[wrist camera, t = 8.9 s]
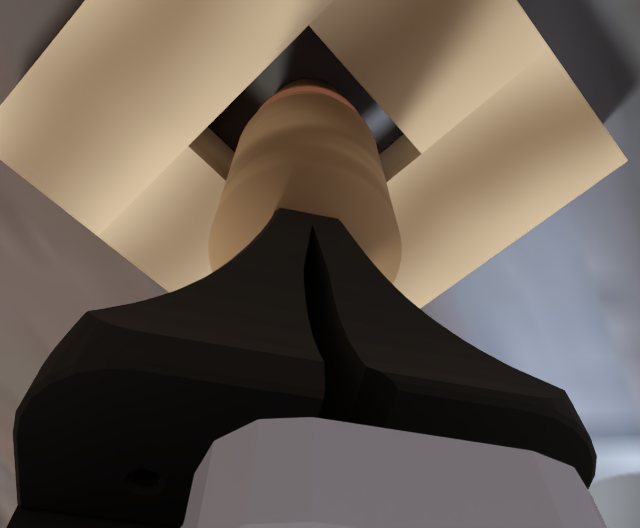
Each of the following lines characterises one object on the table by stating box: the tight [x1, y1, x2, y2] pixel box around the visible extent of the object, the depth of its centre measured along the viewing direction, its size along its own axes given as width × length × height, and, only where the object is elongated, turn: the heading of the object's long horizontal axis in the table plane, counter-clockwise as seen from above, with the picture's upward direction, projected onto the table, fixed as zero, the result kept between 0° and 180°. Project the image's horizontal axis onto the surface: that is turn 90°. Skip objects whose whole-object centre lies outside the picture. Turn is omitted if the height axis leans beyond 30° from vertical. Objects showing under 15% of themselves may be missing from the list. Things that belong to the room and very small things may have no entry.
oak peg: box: [208, 79, 402, 284], centre depth 16 cm, size 4×4×9 cm
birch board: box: [0, 0, 628, 309], centre depth 19 cm, size 14×14×2 cm
